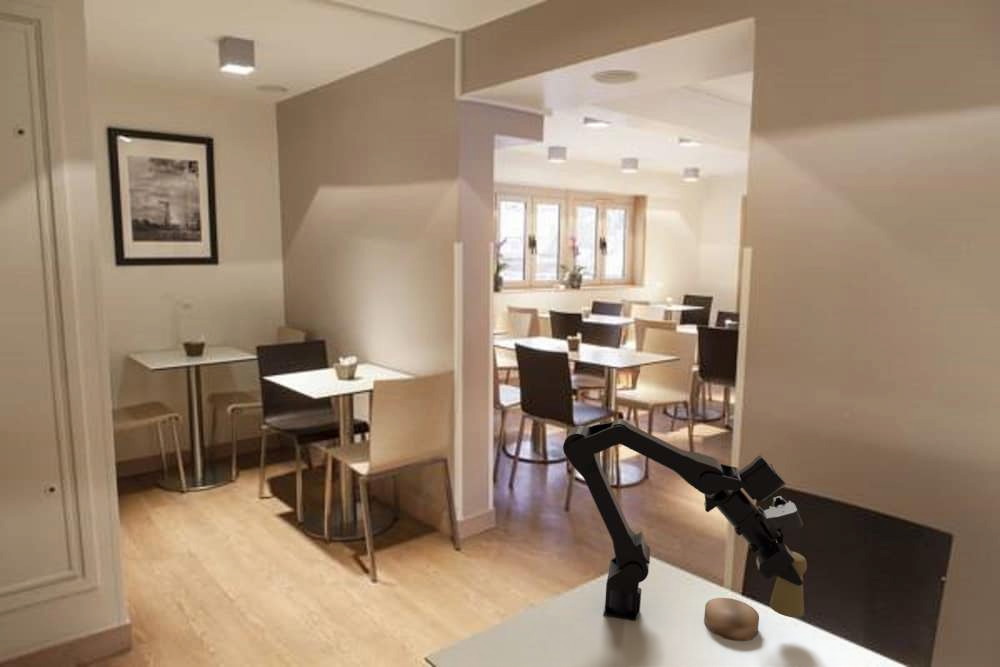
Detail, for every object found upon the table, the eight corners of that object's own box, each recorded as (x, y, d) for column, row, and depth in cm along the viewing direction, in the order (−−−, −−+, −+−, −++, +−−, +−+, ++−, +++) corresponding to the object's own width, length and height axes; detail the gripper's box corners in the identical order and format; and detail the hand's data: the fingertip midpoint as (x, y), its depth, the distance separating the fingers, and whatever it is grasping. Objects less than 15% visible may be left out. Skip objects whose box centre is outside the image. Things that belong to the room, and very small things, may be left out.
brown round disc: (704, 634, 125) (705, 620, 125) (703, 607, 135) (704, 594, 135) (760, 645, 123) (761, 630, 122) (755, 616, 132) (756, 603, 132)
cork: (807, 619, 122) (814, 564, 120) (773, 614, 123) (779, 559, 121) (799, 602, 128) (805, 549, 126) (766, 597, 129) (772, 545, 127)
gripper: (787, 508, 114) (848, 578, 113) (769, 472, 132) (822, 532, 131) (735, 544, 117) (794, 612, 116) (724, 504, 135) (776, 563, 134)
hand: (798, 577), depth 124 cm, fingers closed on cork, 5 cm apart
